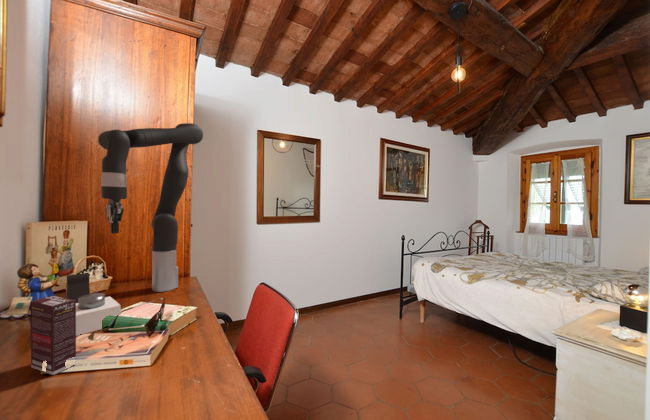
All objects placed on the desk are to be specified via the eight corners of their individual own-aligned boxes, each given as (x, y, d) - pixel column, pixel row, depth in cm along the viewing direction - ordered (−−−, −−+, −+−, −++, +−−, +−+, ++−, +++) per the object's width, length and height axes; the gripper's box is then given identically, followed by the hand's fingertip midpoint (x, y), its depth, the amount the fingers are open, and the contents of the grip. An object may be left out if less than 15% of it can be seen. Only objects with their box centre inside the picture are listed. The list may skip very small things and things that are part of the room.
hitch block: (110, 313, 97) (110, 296, 97) (120, 323, 89) (120, 305, 89) (63, 324, 88) (62, 305, 87) (70, 337, 80) (70, 316, 80)
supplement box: (77, 364, 67) (77, 299, 67) (52, 376, 63) (51, 306, 62) (55, 357, 70) (54, 294, 70) (29, 367, 66) (28, 301, 65)
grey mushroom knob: (102, 316, 93) (101, 291, 92) (107, 322, 89) (107, 296, 88) (76, 323, 88) (76, 296, 88) (80, 329, 84) (80, 301, 83)
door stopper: (90, 308, 101) (90, 275, 100) (67, 313, 96) (67, 278, 96) (87, 301, 107) (87, 270, 107) (66, 305, 103) (66, 273, 102)
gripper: (132, 186, 101) (132, 234, 101) (121, 186, 109) (121, 230, 110) (106, 184, 95) (106, 235, 96) (96, 185, 103) (97, 232, 104)
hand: (114, 233), depth 103 cm, fingers closed
